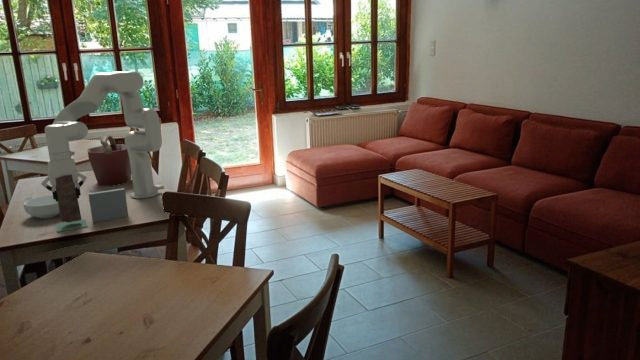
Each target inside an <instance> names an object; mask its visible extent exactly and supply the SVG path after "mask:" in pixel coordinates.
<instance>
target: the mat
mask: <svg viewBox="0 0 640 360" xmlns="http://www.w3.org/2000/svg"><path fill="white" fill-rule="evenodd" d="M55 228H56V233H62V232H67V231H73V230H79V229H84V228H89V227H88V224H87V221H86V219H85V218H84V219H81V220H80V221H74V222H62V223H60V222H59V223H56V224H55Z"/></svg>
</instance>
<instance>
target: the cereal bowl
mask: <svg viewBox="0 0 640 360" xmlns="http://www.w3.org/2000/svg"><path fill="white" fill-rule="evenodd" d="M23 208H24V211H25V212H26V214H27V215H29V216H31V217H36V218H38V219H49V218H50V219H51V218H54V217H56V216H58V215H60V211H59V205H58V201H57V202H56V199H53V194H52V195H45V196H39V197H35V198H31V199H29V200H26V201H24V203H23Z"/></svg>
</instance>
